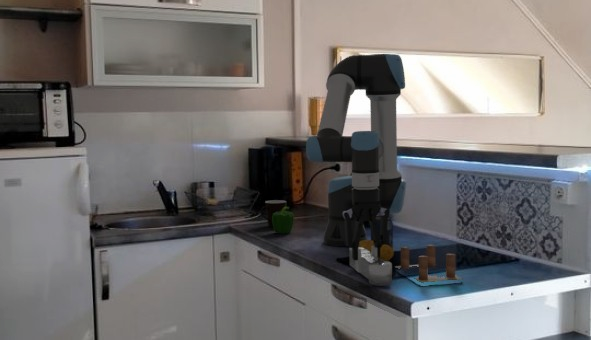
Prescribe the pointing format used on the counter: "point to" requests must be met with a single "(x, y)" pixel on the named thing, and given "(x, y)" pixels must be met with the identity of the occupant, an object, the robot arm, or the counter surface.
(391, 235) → the soda can
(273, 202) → the coffee mug
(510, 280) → the counter surface
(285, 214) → the bell pepper
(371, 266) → the grey ridged block
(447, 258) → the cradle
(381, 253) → the potato
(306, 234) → the counter surface
